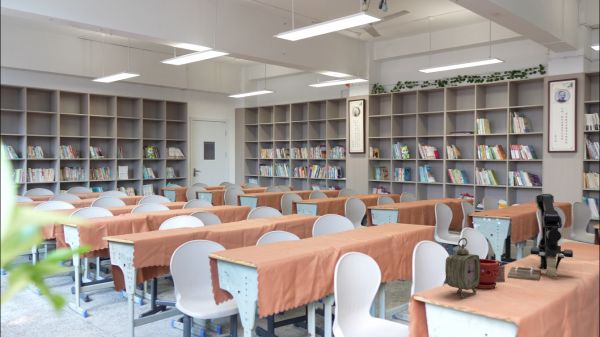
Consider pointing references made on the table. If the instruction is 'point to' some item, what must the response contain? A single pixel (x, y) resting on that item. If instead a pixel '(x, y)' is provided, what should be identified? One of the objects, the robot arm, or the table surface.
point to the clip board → (524, 273)
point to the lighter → (500, 272)
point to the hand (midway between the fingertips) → (551, 269)
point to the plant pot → (488, 273)
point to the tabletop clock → (463, 270)
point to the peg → (551, 266)
